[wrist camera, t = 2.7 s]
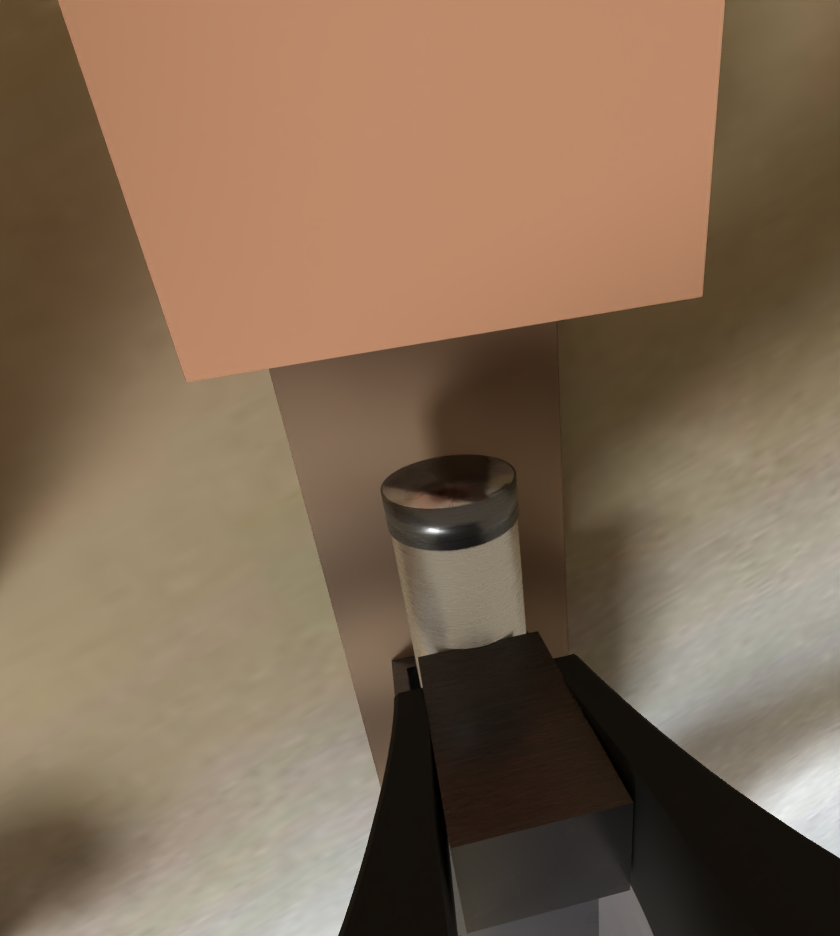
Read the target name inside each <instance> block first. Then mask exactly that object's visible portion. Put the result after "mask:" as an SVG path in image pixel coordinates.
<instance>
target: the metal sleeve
mask: <svg viewBox="0 0 840 936" xmlns="http://www.w3.org/2000/svg"><path fill="white" fill-rule="evenodd" d="M527 633H529V632H528V631H526V634H527ZM391 661H392V672H393V683H394V694H395V696H396V695H397V694H398V693H401V692H406V691H410V690H414V689H419V688H421V685H420V680H419V675H418V670H417V665H416V660H415V655H414V656H409V657H404V658H400V659H395V660H391ZM448 840H449V839H448ZM449 850H450V845H449ZM450 860H451V870H452V880H453V891H454V901H455V911H456V921H457V931H458V936H599V899H595V900H592V901H588V902H584V903H580V904H576V905H573V906H569V907H565V908H561V909H558V910H554V911H550V912H546V913H543V914H539V915H535V916H531V917H527V918H524V919H520V920H516V921H512V922H509V923H505V924H501V925H497V926H494V927H490V928H486V929H482V930H478V931H475V932H471V933H467V931H466V926H465V921H464V916H463V911H462V906H461V901H460V896H459V891H458V886H457V881H456V876H455V871H454V866H453V861H452V856H451V851H450Z"/></svg>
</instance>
